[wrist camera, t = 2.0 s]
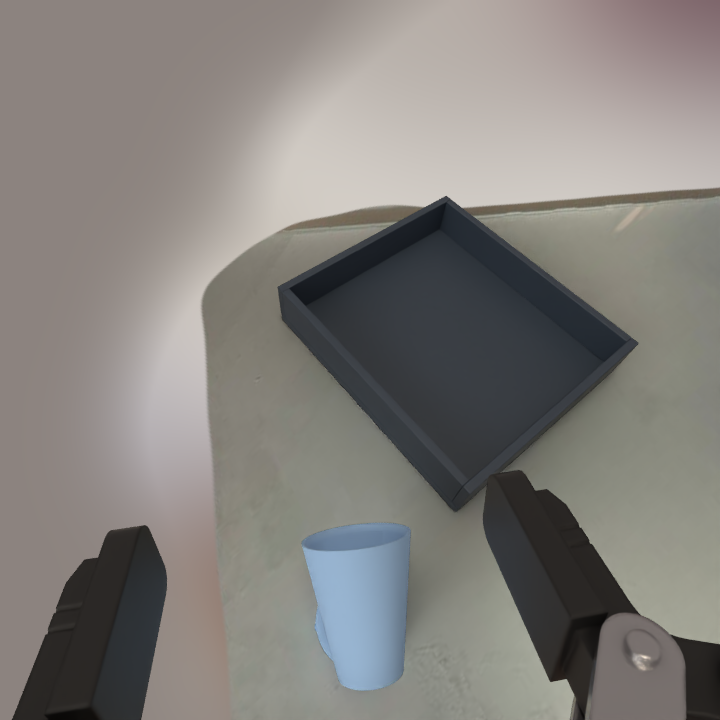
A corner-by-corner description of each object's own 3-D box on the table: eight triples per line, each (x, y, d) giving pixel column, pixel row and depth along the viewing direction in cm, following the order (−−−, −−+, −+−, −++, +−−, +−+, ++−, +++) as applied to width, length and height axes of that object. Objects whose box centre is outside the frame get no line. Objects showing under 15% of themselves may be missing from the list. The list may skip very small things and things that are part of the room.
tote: (281, 319, 38) (277, 286, 35) (437, 229, 45) (446, 195, 41) (455, 512, 31) (470, 494, 27) (612, 371, 37) (639, 342, 34)
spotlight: (306, 554, 29) (317, 694, 25) (297, 505, 20) (312, 705, 17) (388, 543, 29) (411, 677, 26) (411, 490, 21) (451, 679, 17)
